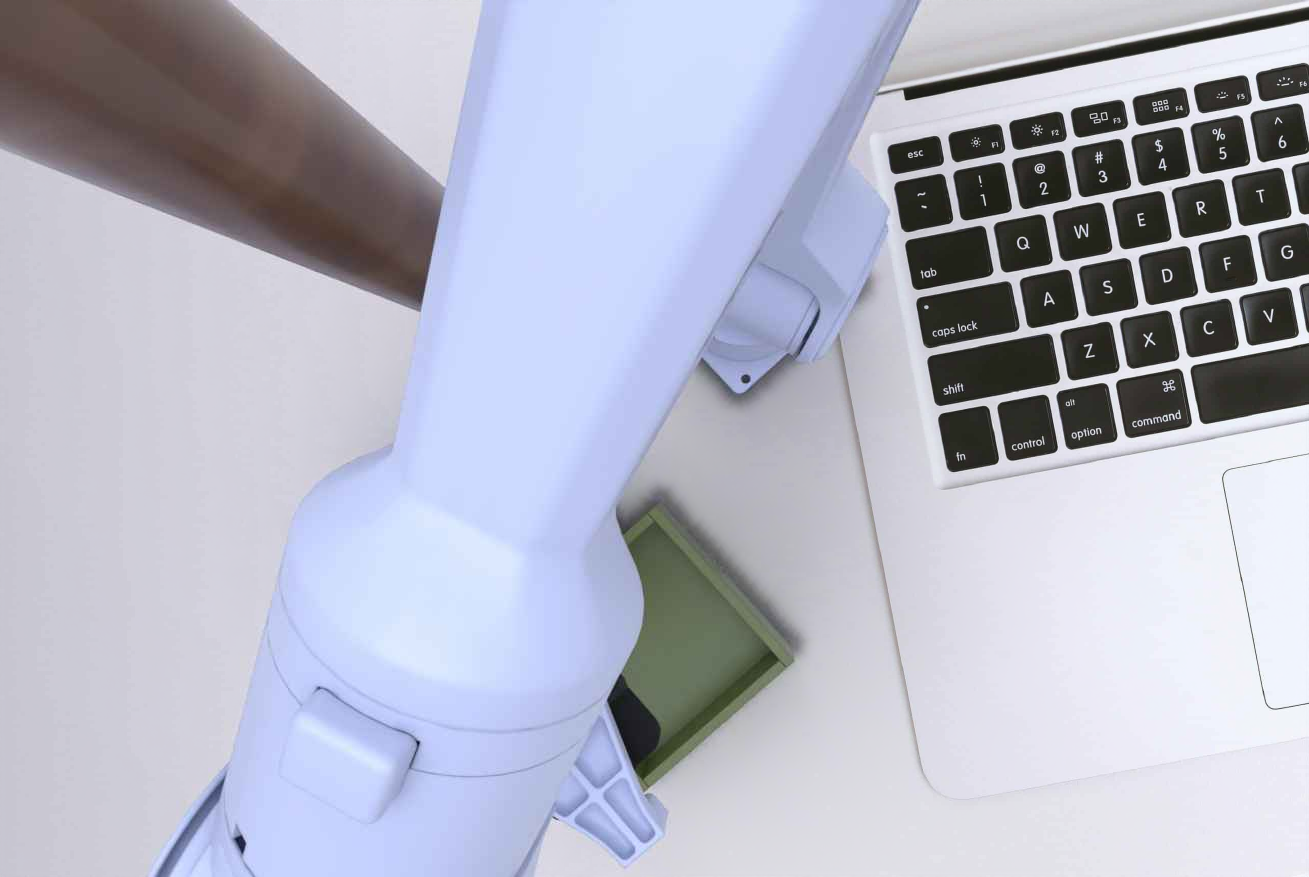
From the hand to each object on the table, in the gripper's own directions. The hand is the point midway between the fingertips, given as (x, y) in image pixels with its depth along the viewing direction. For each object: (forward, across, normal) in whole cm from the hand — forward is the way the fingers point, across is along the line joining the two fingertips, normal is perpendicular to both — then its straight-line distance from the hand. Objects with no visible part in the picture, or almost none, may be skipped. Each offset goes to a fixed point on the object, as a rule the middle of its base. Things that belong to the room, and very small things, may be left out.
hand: (561, 637), depth 40 cm
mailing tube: (+10, -16, +8) cm, 21 cm away
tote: (+10, +4, +1) cm, 11 cm away
